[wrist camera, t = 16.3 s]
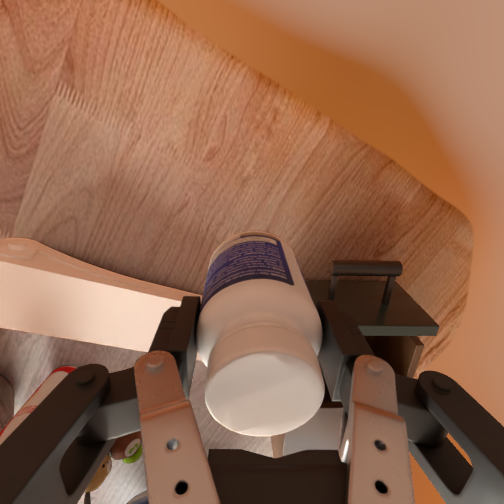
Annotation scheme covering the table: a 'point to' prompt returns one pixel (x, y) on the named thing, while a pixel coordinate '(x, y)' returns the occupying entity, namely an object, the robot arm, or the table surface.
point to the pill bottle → (259, 337)
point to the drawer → (378, 312)
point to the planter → (6, 402)
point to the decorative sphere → (140, 498)
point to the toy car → (121, 449)
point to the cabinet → (312, 432)
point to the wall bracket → (78, 298)
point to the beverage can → (36, 399)
